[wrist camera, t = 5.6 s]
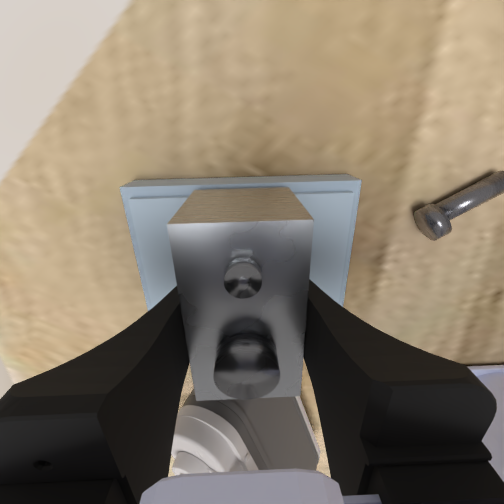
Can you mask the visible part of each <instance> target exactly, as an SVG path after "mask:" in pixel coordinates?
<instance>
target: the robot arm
mask: <svg viewBox="0 0 504 504" xmlns="http://www.w3.org/2000/svg"><path fill="white" fill-rule="evenodd" d="M303 357H304V360H305V363H306V366H307V369H308V372H309V376H310V379H311V382H312V386H313V389H314V394H315V398H316V403H317V408H318V412H319V417H320V422H321V427H322V432H323V437H324V442H325V447H326V453H327V458H328V463H329V468H330V474H331V478H330V477H328V476H326V475H324V474H323V473H321V472H319V471H315V470H306V469H296V468H294V469H274V470H253V471H232V472H212V473H191V474H181V475H176V476H171V477H168V472H169V465H170V458H171V451H172V445H173V438H174V432H175V426H176V419H177V414H178V408H179V402H180V397H181V392H182V388H183V384H184V380H185V377H186V373H187V369H188V366H189V362H190V360H189V354H188V348H187V342H186V336H185V330H184V324H183V318H182V312H181V307H180V301H179V295H178V289H177V286H176V287H175V288H174V289H173V290H171V291H170V292H169V293H168V294H167V295H166V296H165V297H164V298H163V299H162V300H161V301H160V302H158V303H157V304H156V305H155V306H154V307H153V308H152V309H150V310H149V311H148V312H147V313H146V314H144V315H143V316H142V317H141V318H139V319H138V320H137V321H136V322H134V323H133V324H132V325H130V326H129V327H127V328H126V329H124V330H123V331H121V332H120V333H118V334H117V335H115V336H114V337H112V338H111V339H109V340H107V341H105V342H104V343H102V344H100V345H99V346H97V347H95V348H93V349H92V350H90V351H88V352H86V353H84V354H82V355H80V356H78V357H76V358H75V359H72V360H70V361H68V362H66V363H64V364H62V365H60V366H58V367H55V368H53V369H51V370H49V371H46V372H44V373H41V374H39V375H37V376H34V377H32V378H29V379H27V380H25V381H22V382H20V383H17V384H14V385H13V386H12V387H11V388H10V389H9V390H8V391H7V392H6V394H5V395H4V396H3V397H2V398H1V399H0V504H504V365H488V366H465V365H463V364H460V363H457V362H454V361H451V360H448V359H445V358H442V357H439V356H436V355H433V354H431V353H428V352H426V351H423V350H421V349H418V348H416V347H413V346H411V345H409V344H406V343H404V342H402V341H400V340H398V339H396V338H394V337H392V336H390V335H388V334H386V333H384V332H382V331H380V330H378V329H376V328H374V327H373V326H371V325H369V324H368V323H366V322H364V321H363V320H361V319H359V318H358V317H356V316H355V315H353V314H352V313H350V312H349V311H348V310H346V309H345V308H344V307H342V306H341V305H340V304H338V303H337V302H336V301H334V300H333V299H332V298H331V297H330V296H328V295H327V294H326V293H325V292H324V291H323V290H321V289H320V288H319V287H318V286H317V285H316V284H315V283H313V282H312V281H311V280H310V279H309V291H308V304H307V317H306V329H305V342H304V355H303Z"/></svg>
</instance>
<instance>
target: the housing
mask: <svg viewBox="0 0 504 504" xmlns="http://www.w3.org/2000/svg"><path fill="white" fill-rule="evenodd" d="M313 226H314V219H313V218H312V216H311V215H310V214H309V212H308V211H307V210H306V209H305V207H304V206H303V205H302V203H301V202H300V201H299V200H298V198H297V197H296V196H295V194H294V193H293V192H292V191H291V189H290V188H289V187H274V188H241V189H208V190H194V191H193V192H192V193H191V195H190V196H189V197H188V198H187V200H186V201H185V202H184V203H183V205H182V206H181V207H180V208H179V210H178V211H177V212H176V213H175V215H174V216H173V217H172V218H171V220H170V221H169V222H168V223H167V229H168V235H169V241H170V247H171V253H172V259H173V265H174V271H175V277H176V283H177V289H178V295H179V301H180V307H181V312H182V318H183V324H184V330H185V336H186V342H187V348H188V354H189V360H190V366H191V372H192V378H193V384H194V390H195V396H196V401H204V400H227V399H242V400H250V399H256V398H272V397H295V396H300V394H301V381H302V368H303V355H304V342H305V329H306V317H307V304H308V291H309V278H310V265H311V252H312V239H313Z"/></svg>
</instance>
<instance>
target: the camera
mask: <svg viewBox="0 0 504 504" xmlns="http://www.w3.org/2000/svg"><path fill="white" fill-rule="evenodd" d="M171 455H172V456H173V457H174V459H175V460H174V463H173V467H172V471H173V472H174V474H175V475H181V474H191V473H212V472H232V471H253V470H274V469H294V468H296V469H306V470H315V471H316V468H317V464H318V461H319V457H320V448H319V446H318V443H317V440H316V438H315V435H314V433H313V430H312V427H311V425H310V422H309V420H308V417H307V414H306V412H305V409H304V407H303V404H302V401H301V399H300V396H295V397H272V398H256V399H250V400H242V399H227V400H204V401H196V396H195V390H194V389H193V390H192V392H191V394H190V395H189V397H188V399H187V400H186V402H185V403H184V405H183V407H182V408H181V409H180V410H179V412H178V414H177V419H176V426H175V432H174V438H173V445H172V451H171Z"/></svg>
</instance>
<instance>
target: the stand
mask: <svg viewBox="0 0 504 504" xmlns="http://www.w3.org/2000/svg"><path fill="white" fill-rule="evenodd" d="M361 182H362V180H360V179H358V178H356V177H353V176H351V175H349V174H328V175H293V176H258V177H223V178H188V179H153V180H134V181H132V182H129V183H127V184H125V185H123V186H121V187H120V191H121V196H122V200H123V204H124V209H125V213H126V217H127V221H128V226H129V230H130V234H131V239H132V243H133V247H134V252H135V256H136V260H137V265H138V269H139V273H140V278H141V282H142V286H143V291H144V295H145V299H146V304H147V308H148V311H149V310H150V309H152V308H153V307H154V306H155V305H156V304H157V303H158V302H160V301H161V300H162V299H163V298H164V297H165V296H166V295H167V294H168V293H169V292H170V291H171V290H173V289H174V288H175V287H176V286H177V283H176V277H175V271H174V265H173V259H172V253H171V247H170V241H169V235H168V229H167V223H168V222H169V221H170V220H171V218H172V217H173V216H174V215H175V213H176V212H177V211H178V210H179V208H180V207H181V206H182V205H183V203H184V202H185V201H186V200H187V198H188V197H189V196H190V195H191V193H192V192H193V191H194V190H208V189H241V188H274V187H289V188H290V189H291V191H292V192H293V193H294V194H295V196H296V197H297V198H298V200H299V201H300V202H301V203H302V205H303V206H304V207H305V209H306V210H307V211H308V212H309V214H310V215H311V216H312V218H313V219H314V226H313V239H312V252H311V265H310V278H309V279H310V280H311V281H312V282H313V283H315V284H316V285H317V286H318V287H319V288H320V289H321V290H323V291H324V292H325V293H326V294H327V295H328V296H330V297H331V298H332V299H333V300H334V301H336V302H337V303H338V304H340V305H341V306H342V307H343V303H344V296H345V289H346V283H347V276H348V269H349V263H350V256H351V249H352V242H353V236H354V229H355V222H356V215H357V209H358V202H359V195H360V188H361Z"/></svg>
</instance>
